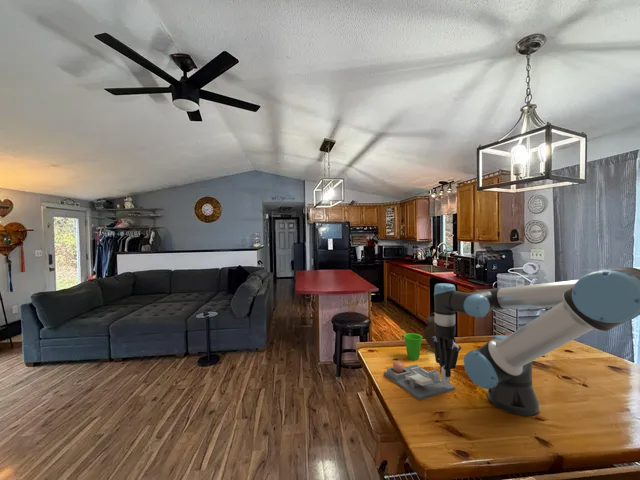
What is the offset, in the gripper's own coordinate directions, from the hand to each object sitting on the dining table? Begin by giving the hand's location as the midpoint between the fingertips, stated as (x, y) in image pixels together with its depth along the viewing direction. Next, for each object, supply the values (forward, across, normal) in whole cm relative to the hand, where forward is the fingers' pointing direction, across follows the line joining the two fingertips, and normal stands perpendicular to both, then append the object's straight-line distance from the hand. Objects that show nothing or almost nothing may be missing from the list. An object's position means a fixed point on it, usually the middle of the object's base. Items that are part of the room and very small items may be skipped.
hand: (445, 383), depth 111 cm
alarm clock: (+3, +31, -28) cm, 42 cm away
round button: (0, +16, +10) cm, 19 cm away
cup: (+3, +29, -9) cm, 31 cm away
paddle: (-1, +6, +8) cm, 10 cm away
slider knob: (+2, +6, 0) cm, 6 cm away
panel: (+3, +10, +5) cm, 12 cm away
